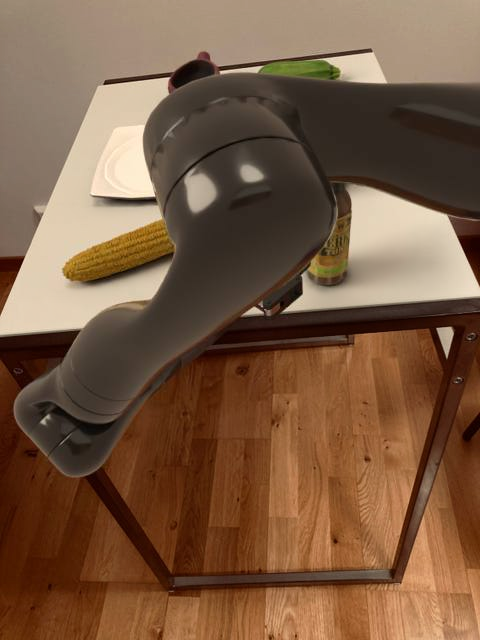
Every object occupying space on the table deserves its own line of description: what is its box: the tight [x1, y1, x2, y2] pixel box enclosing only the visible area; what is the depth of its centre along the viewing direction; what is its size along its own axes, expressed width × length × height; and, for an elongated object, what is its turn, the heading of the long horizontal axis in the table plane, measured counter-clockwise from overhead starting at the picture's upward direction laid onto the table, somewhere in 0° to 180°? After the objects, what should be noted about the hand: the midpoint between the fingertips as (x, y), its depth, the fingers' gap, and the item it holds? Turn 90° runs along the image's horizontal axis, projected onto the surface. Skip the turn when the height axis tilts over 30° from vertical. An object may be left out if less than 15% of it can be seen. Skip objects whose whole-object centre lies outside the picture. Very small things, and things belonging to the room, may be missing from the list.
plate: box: [89, 124, 156, 201], centre depth 104 cm, size 29×29×3 cm
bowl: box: [167, 50, 221, 95], centre depth 120 cm, size 16×13×8 cm
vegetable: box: [257, 59, 342, 80], centre depth 117 cm, size 7×7×20 cm
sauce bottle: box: [305, 183, 353, 286], centre depth 70 cm, size 6×6×20 cm
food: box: [61, 218, 174, 283], centre depth 82 cm, size 21×6×6 cm, turn 114°
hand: (280, 241), depth 63 cm, fingers open, 8 cm apart
